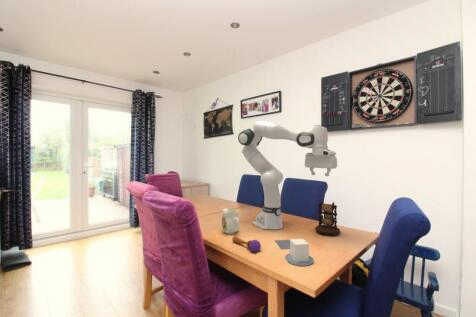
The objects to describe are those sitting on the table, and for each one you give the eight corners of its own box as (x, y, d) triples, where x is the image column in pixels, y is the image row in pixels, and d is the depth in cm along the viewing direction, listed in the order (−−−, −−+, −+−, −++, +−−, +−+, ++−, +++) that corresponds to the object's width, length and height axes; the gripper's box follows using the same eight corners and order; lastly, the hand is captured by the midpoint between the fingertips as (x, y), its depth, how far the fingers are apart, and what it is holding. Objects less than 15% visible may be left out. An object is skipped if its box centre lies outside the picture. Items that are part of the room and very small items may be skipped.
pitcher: (231, 238, 138) (230, 215, 138) (216, 230, 153) (216, 209, 153) (246, 235, 144) (246, 213, 144) (231, 227, 159) (231, 207, 159)
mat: (274, 241, 133) (274, 240, 133) (295, 240, 135) (295, 239, 135) (281, 250, 120) (281, 249, 120) (305, 249, 122) (305, 248, 122)
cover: (290, 255, 113) (289, 239, 112) (302, 255, 113) (302, 238, 113) (295, 262, 106) (295, 244, 106) (308, 261, 107) (308, 243, 107)
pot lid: (279, 258, 111) (279, 252, 111) (297, 251, 119) (297, 245, 119) (301, 269, 101) (301, 262, 101) (319, 261, 108) (319, 254, 108)
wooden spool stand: (342, 231, 150) (342, 200, 149) (337, 238, 137) (337, 204, 137) (318, 227, 158) (318, 198, 158) (312, 233, 146) (312, 202, 145)
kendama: (238, 233, 135) (263, 240, 120) (238, 244, 134) (262, 252, 119) (230, 234, 131) (255, 241, 116) (229, 245, 130) (254, 253, 115)
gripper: (302, 152, 145) (302, 174, 145) (332, 152, 129) (332, 177, 129) (308, 152, 149) (308, 174, 149) (338, 152, 132) (338, 176, 133)
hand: (319, 175), depth 139 cm, fingers open, 8 cm apart
